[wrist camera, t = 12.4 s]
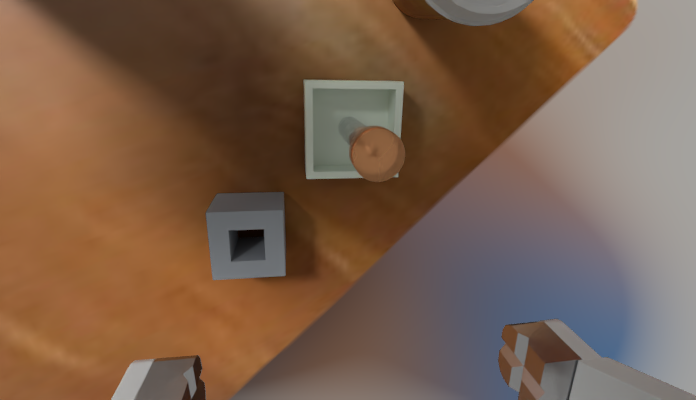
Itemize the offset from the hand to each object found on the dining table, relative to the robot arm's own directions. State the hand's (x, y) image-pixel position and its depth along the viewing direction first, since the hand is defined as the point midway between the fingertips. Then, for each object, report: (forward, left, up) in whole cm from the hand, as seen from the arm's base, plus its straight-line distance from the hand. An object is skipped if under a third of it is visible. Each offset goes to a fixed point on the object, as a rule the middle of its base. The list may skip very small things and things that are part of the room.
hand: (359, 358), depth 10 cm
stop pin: (-2, +4, -26) cm, 26 cm away
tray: (-2, +4, -26) cm, 27 cm away
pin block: (+7, -5, -26) cm, 28 cm away
